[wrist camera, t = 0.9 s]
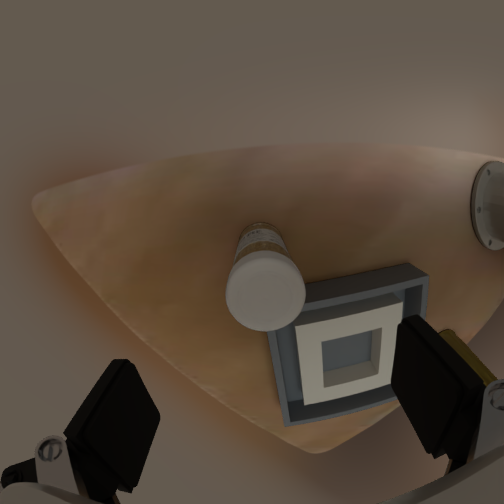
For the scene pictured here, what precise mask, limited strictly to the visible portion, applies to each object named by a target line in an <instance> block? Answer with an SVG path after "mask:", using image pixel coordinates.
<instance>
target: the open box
mask: <svg viewBox="0 0 504 504" xmlns="http://www.w3.org/2000/svg"><path fill="white" fill-rule="evenodd" d="M428 284H429V275H428V274H426V273H424V272H423V271H421V270H420V269H418V268H416V267H415V266H413V265H412V264H410V263H406V264H402V265H397V266H393V267H388V268H384V269H379V270H375V271H370V272H365V273H360V274H355V275H351V276H346V277H341V278H336V279H330V280H325V281H320V282H315V283H309V284H305V289H306V297H305V303H304V305H303V308H302V310H301V312H303V311H309V310H314V309H319V308H324V307H329V306H334V305H339V304H343V303H348V302H353V301H357V300H362V299H366V298H370V297H374V296H379V295H383V294H387V293H391V292H393V293H394V294H395V295H396V296H397V297H398V298H399V299H400V300H401V301H402V302H403V309H402V319H403V318H405V317H408V316H412V315H415V314H418V315H419V316H421V317H422V318H423V319H424V320H425V317H426V308H427V297H428ZM267 335H268V340H269V346H270V351H271V356H272V362H273V367H274V372H275V378H276V383H277V388H278V394H279V399H280V405H281V410H282V415H283V421H284V426H285V427H286V426H293V425H299V424H305V423H310V422H315V421H320V420H325V419H330V418H334V417H338V416H343V415H347V414H351V413H354V412H358V411H362V410H365V409H369V408H372V407H375V406H378V405H382V404H385V403H388V402H391V401H394V400H397V399H398V398H397V397H396V395H395V393H394V391H393V389H392V387H391V383H390V384H387V385H384V386H381V387H378V388H374V389H371V390H368V391H364V392H360V393H357V394H353V395H349V396H345V397H341V398H337V399H332V400H328V401H323V402H318V403H313V404H308V405H304V401H303V396H302V391H301V383H300V374H299V366H298V358H297V350H296V342H295V334H294V326H293V321H292V322H291V323H290V324H288V325H286V326H285V327H283V328H280V329H277V330H273V331H267ZM371 344H372V330H370V331H366V332H362V333H358V334H354V335H350V336H346V337H341V338H337V339H332V340H328V341H323V342H321V346H322V362H323V372H325V371H330V370H334V369H338V368H343V367H347V366H351V365H355V364H359V363H363V362H366V361H370V360H371Z"/></svg>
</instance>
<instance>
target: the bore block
mask: <svg viewBox="0 0 504 504" xmlns="http://www.w3.org/2000/svg"><path fill="white" fill-rule="evenodd" d="M402 309H403V302H402V301H401V300H400V299H399V298H398V297H397V296H396V295H395V294H394V293H393V292H391V293H387V294H383V295H379V296H374V297H370V298H366V299H362V300H357V301H353V302H348V303H343V304H339V305H334V306H329V307H324V308H319V309H314V310H309V311H303V312H300V313H299V315H298V316H297V317H296V318H295V319H294V320H293V326H294V334H295V342H296V350H297V358H298V366H299V374H300V383H301V391H302V396H303V401H304V405H308V404H313V403H318V402H323V401H328V400H332V399H337V398H341V397H345V396H349V395H353V394H357V393H360V392H364V391H368V390H371V389H374V388H378V387H381V386H384V385H387V384H390V383H391V375H392V368H393V361H394V353H395V344H396V334H397V326H398V324H399V323H401V320H402ZM370 330H372V344H371V360H370V361H366V362H363V363H359V364H355V365H351V366H347V367H343V368H338V369H334V370H330V371H325V372H323V362H322V346H321V342H323V341H328V340H332V339H337V338H341V337H346V336H350V335H354V334H358V333H362V332H366V331H370Z"/></svg>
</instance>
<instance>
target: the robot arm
mask: <svg viewBox="0 0 504 504" xmlns="http://www.w3.org/2000/svg"><path fill="white" fill-rule="evenodd" d="M471 212H472V221H473V226H474V230H475V233H476V236H477V237H478V239H479V241H480V242H481V243H482V245H483V246H485V247H486V248H488V249H491V250H500V249H502V248H503V247H504V163H502V162H499V161H491V162H488V163H486V164H485V165H484V166H483V167H482V168H481V170H480V171H479V173H478V175H477V177H476V180H475V183H474V187H473V192H472V201H471ZM391 387H392V389H393V391H394V393H395V395H396V397H397V398H398V400H399V402H400V404H401V406H402V407H403V409H404V411H405V413H406V415H407V417H408V418H409V420H410V422H411V424H412V426H413V428H414V430H415V431H416V433H417V435H418V437H419V439H420V441H421V443H422V445H423V446H424V449H425V451H426V452H427V453H428V454H430V453H431V454H432V455H433V457H434V459H436V458H438V457H440V456H442V455H444V454H447V455H448V458H449V462H448V465H447V468H446V472H445V474H444V476H443V477H441V478H439V479H437V480H435V481H433V482H431V483H429V484H427V485H424V486H422V487H420V488H417V489H415V490H412V491H410V492H408V493H405V494H403V495H400V496H398V497H395V498H392V499H389V500H387V501H384V502H381V503H378V504H504V379H501V380H496V381H493V382H491V383H490V384H489V385H488V386H487V387H486V385H485V384H484V381H483V380H482V378H481V377H480V376H479V375H478V374H477V373H476V372H475V371H474V370H473V369H472V368H471V367H470V365H469V364H468V363H467V362H466V361H465V360H464V359H463V358H462V357H461V356H460V355H459V354H458V353H457V352H456V351H455V350H454V349H453V348H452V347H451V346H450V345H449V344H448V343H447V342H446V341H445V340H444V339H443V338H442V337H441V336H440V335H439V334H438V333H437V332H436V331H435V330H434V329H433V328H432V327H431V326H430V325H429V324H428V323H427V322H426V321H425V320H424V319H423V318H422V317H421V316H419V315H418V314H415V315H412V316H408V317H405V318H403V319H402V320H401V323H399V324H398V326H397V334H396V344H395V353H394V361H393V368H392V375H391ZM159 422H160V413H159V411H158V409H157V407H156V406H155V404H154V402H153V400H152V398H151V397H150V395H149V393H148V391H147V389H146V387H145V385H144V383H143V381H142V379H141V377H140V375H139V373H138V371H137V369H136V367H135V365H134V364H133V363H131V362H130V361H129V360H128V359H114V360H113V361H111V363H110V364H109V366H108V367H107V368H106V370H105V371H104V373H103V374H102V376H101V377H100V379H99V380H98V381H97V383H96V384H95V386H94V387H93V388H92V390H91V391H90V393H89V395H88V396H87V397H86V399H85V400H84V402H83V403H82V405H81V406H80V408H79V409H78V411H77V412H76V414H75V415H74V417H73V418H72V420H71V421H70V423H69V425H68V426H67V428H66V429H65V431H64V432H63V433H64V435H65V436H66V437H67V440H66V441H65V440H63V438H62V437H59V436H48V437H46V438H44V439H43V440H41V441H40V442H39V444H38V445H37V447H36V449H35V458H32V459H30V460H27V461H24V462H21V463H18V464H15V465H12V466H9V467H8V468H6V469H5V470H4V471H3V474H2V477H1V481H0V504H120V502H119V499H118V498H117V495H116V493H115V492H116V490H117V489H118V490H120V491H124V492H128V493H132V490H133V487H136V486H137V484H138V482H139V479H140V476H141V473H142V470H143V467H144V464H145V461H146V459H147V456H148V453H149V450H150V447H151V444H152V441H153V438H154V436H155V433H156V430H157V427H158V425H159Z"/></svg>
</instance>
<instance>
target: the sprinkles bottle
mask: <svg viewBox="0 0 504 504" xmlns="http://www.w3.org/2000/svg"><path fill="white" fill-rule="evenodd" d="M305 297H306V289H305V284H304V281H303V278H302V276H301V274H300V272H299V270H298V268H297V266H296V265H295V264H294V263H293V262H292V260H291V257H290V255H289V253H288V251H287V249H286V246H285V244H284V242H283V240H282V237H281V234H280V232H279V231H278V230H277V229H276V228H275V227H274V226H272V225H270V224H267V223H256V224H252V225H251V226H248V227H247V228H246V229H245V230H244V231H243V232H242V234H241V236H240V238H239V243H238V247H237V251H236V255H235V259H234V263H233V268H232V270H231V272H230V274H229V277H228V281H227V286H226V303H227V306H228V309H229V311H230V313H231V314H232V316H233V317H234V318H235V319H236V320H237V321H238V322H239V323H240V324H242V325H244V326H245V327H247V328H250V329H253V330H257V331H273V330H277V329H280V328H283V327H285V326H286V325H288V324H290V323H291V322H292V321H293V320H294V319H295V318H296V317H297V316H298V315H299V313H300V312H301V310H302V308H303V305H304V303H305Z"/></svg>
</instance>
